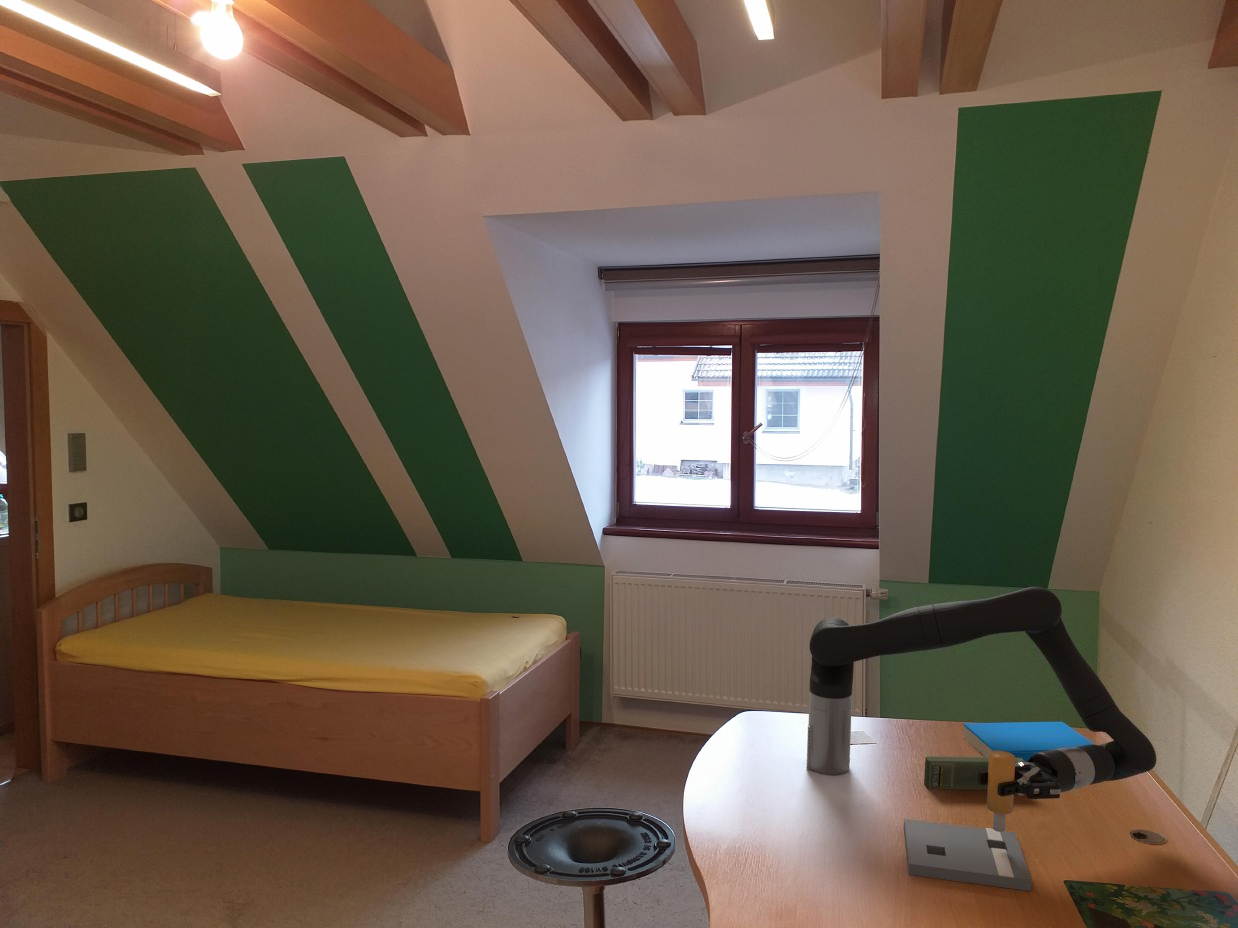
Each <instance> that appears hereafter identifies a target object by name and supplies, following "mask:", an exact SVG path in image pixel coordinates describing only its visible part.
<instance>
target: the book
mask: <svg viewBox="0 0 1238 928" xmlns="http://www.w3.org/2000/svg"><path fill="white" fill-rule="evenodd" d="M963 739H964V740H966V741H967V742H968V743H969V744H970V745H971V746H972V747H973V748H974V749H975V750H976V751H978V752H979V753H980V754H981V755H982V756H983V757H989V753H990V752H991V751H1005V752H1009V753H1011V754H1013V755H1014V756H1015V758H1022V759H1023V760H1024V762H1027V761H1028V760H1029V759H1030V758H1031V756H1032V755H1034V754H1035V753H1039V752H1044V751H1049V750H1054V749H1060V748H1072V747H1078V746H1084V745H1091V744H1093V745H1096V744H1095V743H1094V742H1092V741H1091V740H1089V738H1087V737H1085V736H1084V735H1082V734H1081V733H1080V732H1078V731H1076V730H1075V729H1074V728H1072V727H1070V725H1068V724H1066V723H1065V722H1064V721H1032V722H1031V721H1029V722H1028V721H1026V722H1025V721H1024V722H1022V721H1021V722H1018V721H1017V722H1015V721H1014V722H971V723H970V722H968V723H967V722H964V723H963Z"/></svg>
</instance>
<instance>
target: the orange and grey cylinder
mask: <svg viewBox="0 0 1238 928" xmlns="http://www.w3.org/2000/svg"><path fill="white" fill-rule="evenodd" d="M1014 775H1015V756H1014V755H1013V754H1011V753H1009V752H1005V751H991V752H990V753H989V767H988V790H987V794H986V795H987V796H986V797H987V798H986V808H987V809H988V811H990V812H993V822H992V829H994V830H995V831H998V832H1004V831H1006V815H1008V814H1012V813H1013V811H1014V797H1015V794H1013V795H1009V796H1003V797H1001V796H999V795H998V794H997V789H998V784H999V783H1004V782H1009V781H1013V780H1014Z"/></svg>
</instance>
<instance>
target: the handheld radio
mask: <svg viewBox="0 0 1238 928" xmlns="http://www.w3.org/2000/svg"><path fill="white" fill-rule="evenodd" d="M924 762H925V763H924V773H923V774H924V775H923V777H924V778H923V785H924V787H925V789H929V790H930V789H931V790H932V789H933V790H939V789H940V790H984V791H985V790H987V791H988V784H985V785H981V784H979V783H978V773H979V772H982V771H988V767H989V757H984V756H983V757H982V756H979V757H977V756H925V761H924ZM1017 762H1024V760H1023V759H1022V758H1015V763H1017Z"/></svg>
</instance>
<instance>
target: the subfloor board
mask: <svg viewBox="0 0 1238 928" xmlns="http://www.w3.org/2000/svg"><path fill="white" fill-rule="evenodd" d="M903 835H904V843H905V853H906V863H907V874H908V875H909V876H916V877H925V878H932V879H939V880H946V881H953V882H960V883H961V882H962V883H968V884H976V885H982V886H983V885H984V886H991V887H996V888H997V887H999V888H1004V889H1005V888H1007V889H1013V890H1019V891H1028V892H1031V891H1032V877H1031V875H1030V872H1029V869H1028V866H1027V862H1026V861H1025V857H1024V854H1023V852H1022V848H1021V846H1020V843H1019V839H1018V837H1017V834H1016V832H1015V831H1007V830H1005V831H1004V832H998V831H995V830H994V829H993V828H991V827H985V828H984V827H976V826H975V827H974V826H966V825H960V824H959V825H958V824H952V823H951V824H950V823H943V822H934V821H926V820H917V819H910V818H903Z"/></svg>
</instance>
